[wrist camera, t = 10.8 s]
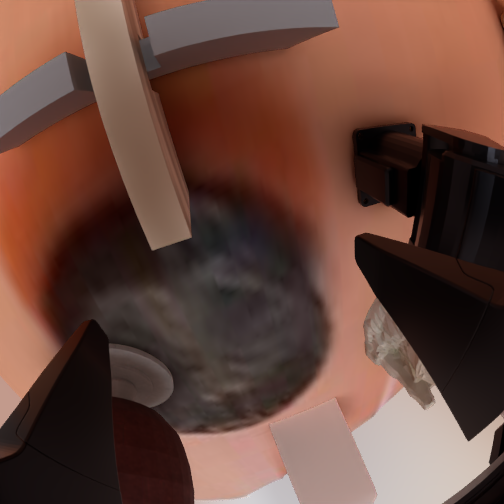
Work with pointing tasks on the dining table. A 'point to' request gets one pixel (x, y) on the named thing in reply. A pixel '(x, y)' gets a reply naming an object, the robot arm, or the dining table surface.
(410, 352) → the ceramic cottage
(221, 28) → the grey notched bar
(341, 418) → the milk
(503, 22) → the rough brown rock
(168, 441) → the mate gourd
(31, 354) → the dining table surface
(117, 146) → the long wooden slat
